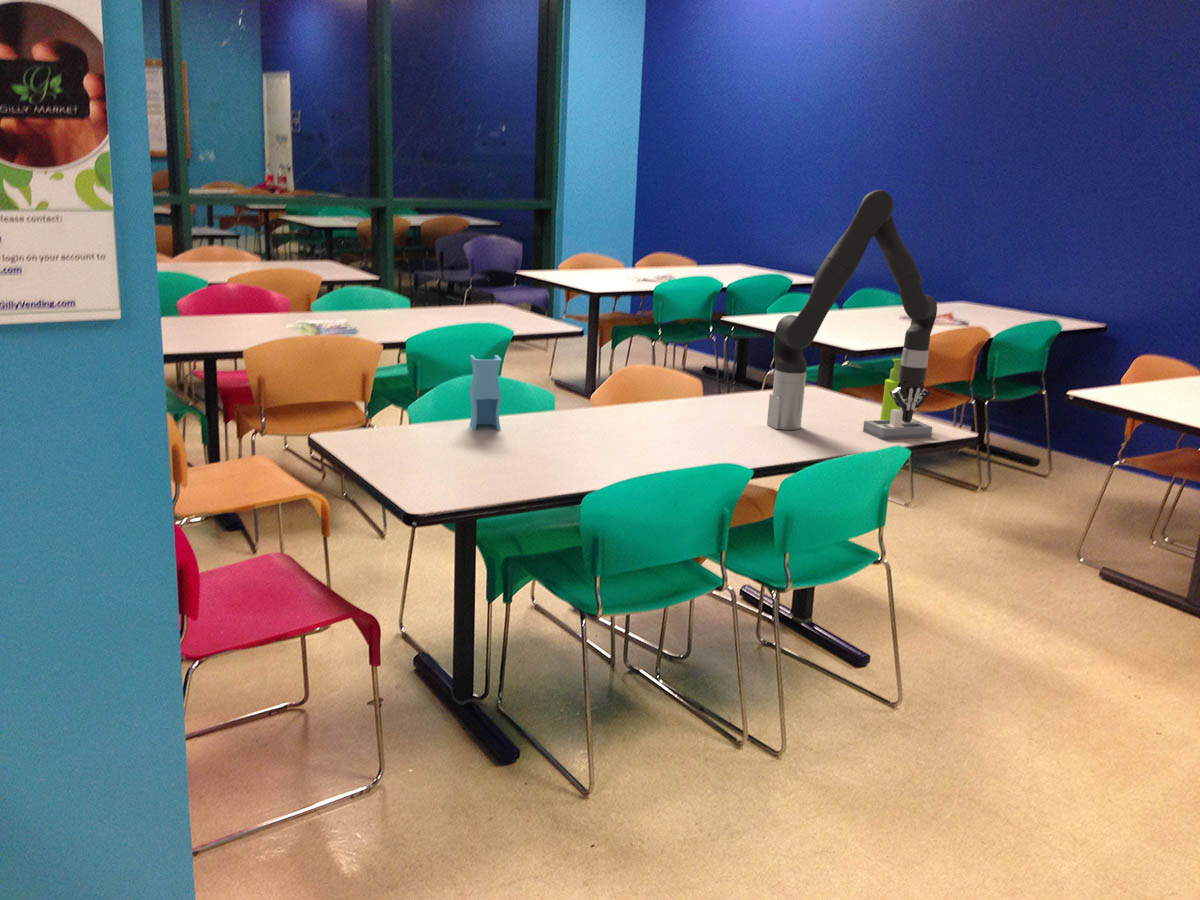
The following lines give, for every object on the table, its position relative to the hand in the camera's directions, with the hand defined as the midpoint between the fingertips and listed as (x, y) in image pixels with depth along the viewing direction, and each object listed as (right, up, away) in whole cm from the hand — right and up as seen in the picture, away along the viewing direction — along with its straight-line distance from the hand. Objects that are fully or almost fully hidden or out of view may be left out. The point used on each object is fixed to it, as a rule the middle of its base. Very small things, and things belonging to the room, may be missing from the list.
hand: (906, 421), depth 304 cm
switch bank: (-2, -4, +3) cm, 5 cm away
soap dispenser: (+1, 0, +18) cm, 18 cm away
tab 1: (-4, -3, -1) cm, 5 cm away
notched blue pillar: (-123, -2, -12) cm, 124 cm away
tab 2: (+1, -1, +6) cm, 6 cm away
